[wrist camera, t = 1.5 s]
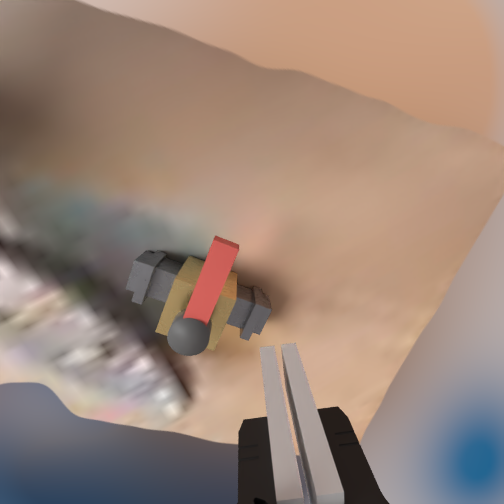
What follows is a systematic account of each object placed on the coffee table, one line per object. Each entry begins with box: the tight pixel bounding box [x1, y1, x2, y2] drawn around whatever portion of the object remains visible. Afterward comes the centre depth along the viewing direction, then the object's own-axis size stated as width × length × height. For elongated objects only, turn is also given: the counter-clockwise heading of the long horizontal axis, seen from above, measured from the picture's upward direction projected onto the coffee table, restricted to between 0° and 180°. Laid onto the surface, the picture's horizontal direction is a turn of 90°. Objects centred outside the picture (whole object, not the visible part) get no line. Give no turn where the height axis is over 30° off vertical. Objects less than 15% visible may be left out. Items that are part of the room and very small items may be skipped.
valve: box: [126, 251, 272, 351], centre depth 32 cm, size 18×7×10 cm, turn 67°
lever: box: [167, 236, 239, 356], centre depth 25 cm, size 12×4×2 cm, turn 157°
